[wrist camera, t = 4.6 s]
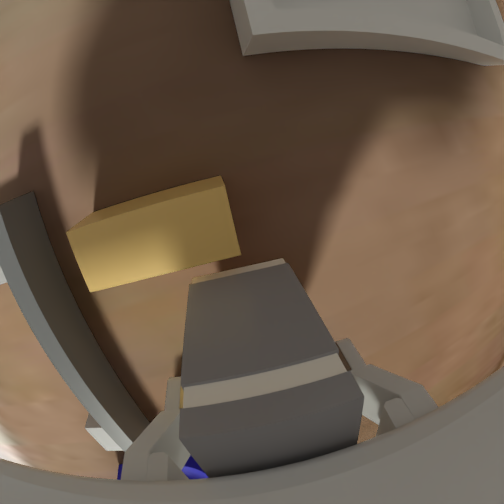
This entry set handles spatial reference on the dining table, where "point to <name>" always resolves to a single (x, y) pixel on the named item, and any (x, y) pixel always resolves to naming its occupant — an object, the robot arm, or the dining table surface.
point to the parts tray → (374, 27)
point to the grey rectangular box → (261, 374)
